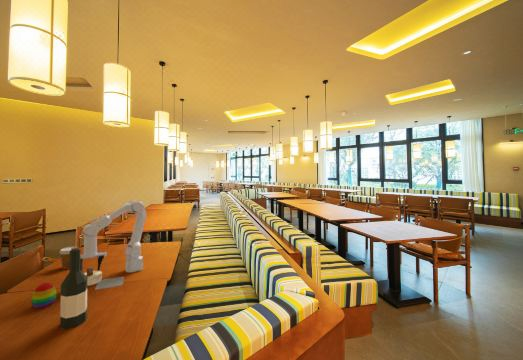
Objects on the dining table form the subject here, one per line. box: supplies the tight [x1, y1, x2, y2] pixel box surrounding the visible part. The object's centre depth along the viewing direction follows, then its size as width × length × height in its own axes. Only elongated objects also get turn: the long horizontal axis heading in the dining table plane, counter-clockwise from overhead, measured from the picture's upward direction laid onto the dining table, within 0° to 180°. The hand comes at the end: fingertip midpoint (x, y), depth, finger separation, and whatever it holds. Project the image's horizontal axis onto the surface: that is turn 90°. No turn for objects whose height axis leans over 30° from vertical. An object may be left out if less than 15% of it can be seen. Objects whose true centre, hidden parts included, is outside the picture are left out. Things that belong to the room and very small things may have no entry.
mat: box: [94, 275, 125, 291], centre depth 121 cm, size 12×12×1 cm
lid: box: [83, 267, 103, 281], centre depth 121 cm, size 11×11×4 cm
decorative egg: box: [31, 282, 58, 309], centre depth 101 cm, size 8×8×10 cm
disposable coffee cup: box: [58, 246, 76, 270], centre depth 142 cm, size 10×10×12 cm
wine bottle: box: [59, 246, 88, 330], centre depth 89 cm, size 8×8×30 cm
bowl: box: [87, 276, 103, 287], centre depth 122 cm, size 10×10×4 cm
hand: (90, 271), depth 122 cm, fingers open, 7 cm apart
